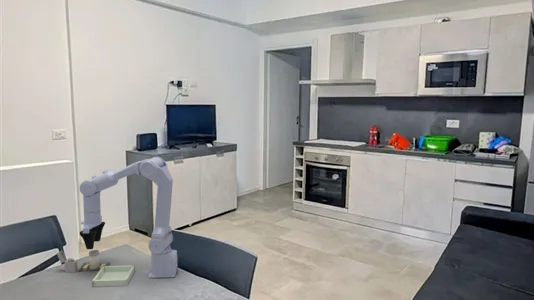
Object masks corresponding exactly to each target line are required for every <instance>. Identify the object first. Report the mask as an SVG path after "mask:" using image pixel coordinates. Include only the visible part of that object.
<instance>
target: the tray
mask: <svg viewBox="0 0 534 300" xmlns="http://www.w3.org/2000/svg"><path fill="white" fill-rule="evenodd" d="M135 271H136V265H109V266H103V267H102V268H101V269H100V271H97V273H96V275H95V276H94V277H93V279H92V280H91V287H92V288H97V287H99V288H100V287H101V288H103V287H105V288H106V287H127V286H128V284H129V283H130V280H131V279H132V278H133V275H134V273H135Z"/></svg>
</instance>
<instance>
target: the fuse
mask: <svg viewBox="0 0 534 300" xmlns="http://www.w3.org/2000/svg"><path fill="white" fill-rule="evenodd" d="M88 260H89V261H88V262H89V263H88V264H89V269H90V270H96V269H98V268H99V264H100V250H98V249H91V250H90V251H89V252H88Z"/></svg>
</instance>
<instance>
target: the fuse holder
mask: <svg viewBox="0 0 534 300" xmlns="http://www.w3.org/2000/svg"><path fill="white" fill-rule="evenodd" d="M103 266H111V262H108V261H107V263H101V264H100V263H99V268H98V269H96V270H90V269H89V263H88V264H87V262H84V263H83V264H82V265H81V266H80V267H79V268H78V271H77V272H78V273H86V272H87V273H89V272H92V273H93V272H95V273H96V272H97V273H98V272H99V271H100V269H101V268H102V267H103Z"/></svg>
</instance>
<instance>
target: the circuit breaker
mask: <svg viewBox="0 0 534 300" xmlns="http://www.w3.org/2000/svg"><path fill="white" fill-rule="evenodd" d="M56 255H57V257H58V259H59V262H60V263H61V264H63V263H64V272H65V273H71V274H76V273H77V272H78V270H79V268H78V260H75V259H74V258H67V256H66V255H65V253H64V251H63V250H60V251H58V252H57V253H56Z"/></svg>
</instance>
